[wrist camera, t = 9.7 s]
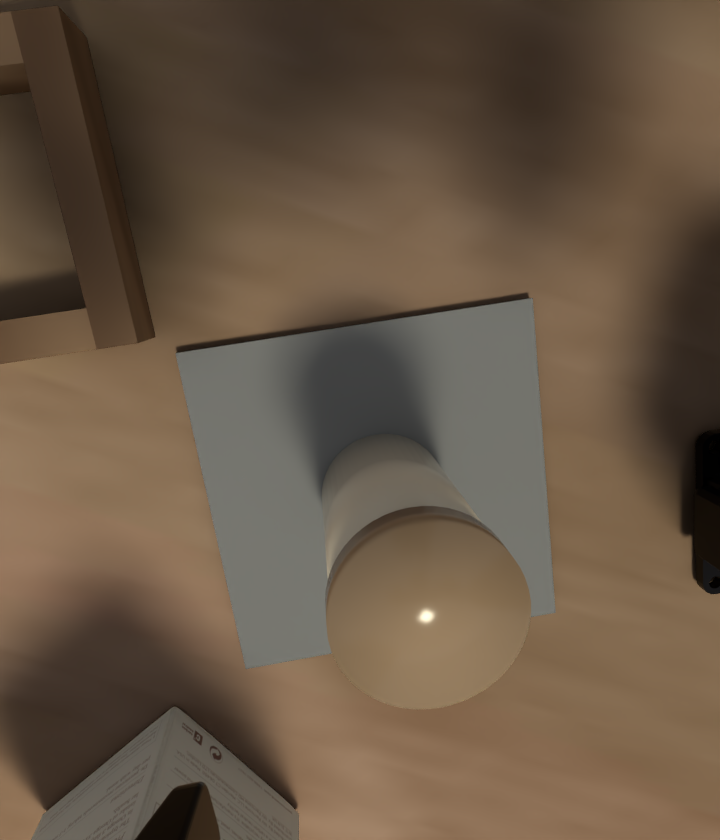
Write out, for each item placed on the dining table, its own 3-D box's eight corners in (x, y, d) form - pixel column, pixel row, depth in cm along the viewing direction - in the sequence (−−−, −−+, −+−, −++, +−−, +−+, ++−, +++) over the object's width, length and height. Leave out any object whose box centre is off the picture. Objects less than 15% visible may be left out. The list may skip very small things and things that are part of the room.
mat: (529, 297, 20) (532, 298, 19) (552, 608, 23) (555, 612, 22) (177, 352, 19) (175, 353, 19) (246, 664, 22) (245, 669, 22)
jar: (439, 420, 20) (522, 506, 12) (453, 541, 21) (538, 688, 13) (308, 442, 20) (310, 544, 12) (330, 563, 21) (343, 726, 13)
